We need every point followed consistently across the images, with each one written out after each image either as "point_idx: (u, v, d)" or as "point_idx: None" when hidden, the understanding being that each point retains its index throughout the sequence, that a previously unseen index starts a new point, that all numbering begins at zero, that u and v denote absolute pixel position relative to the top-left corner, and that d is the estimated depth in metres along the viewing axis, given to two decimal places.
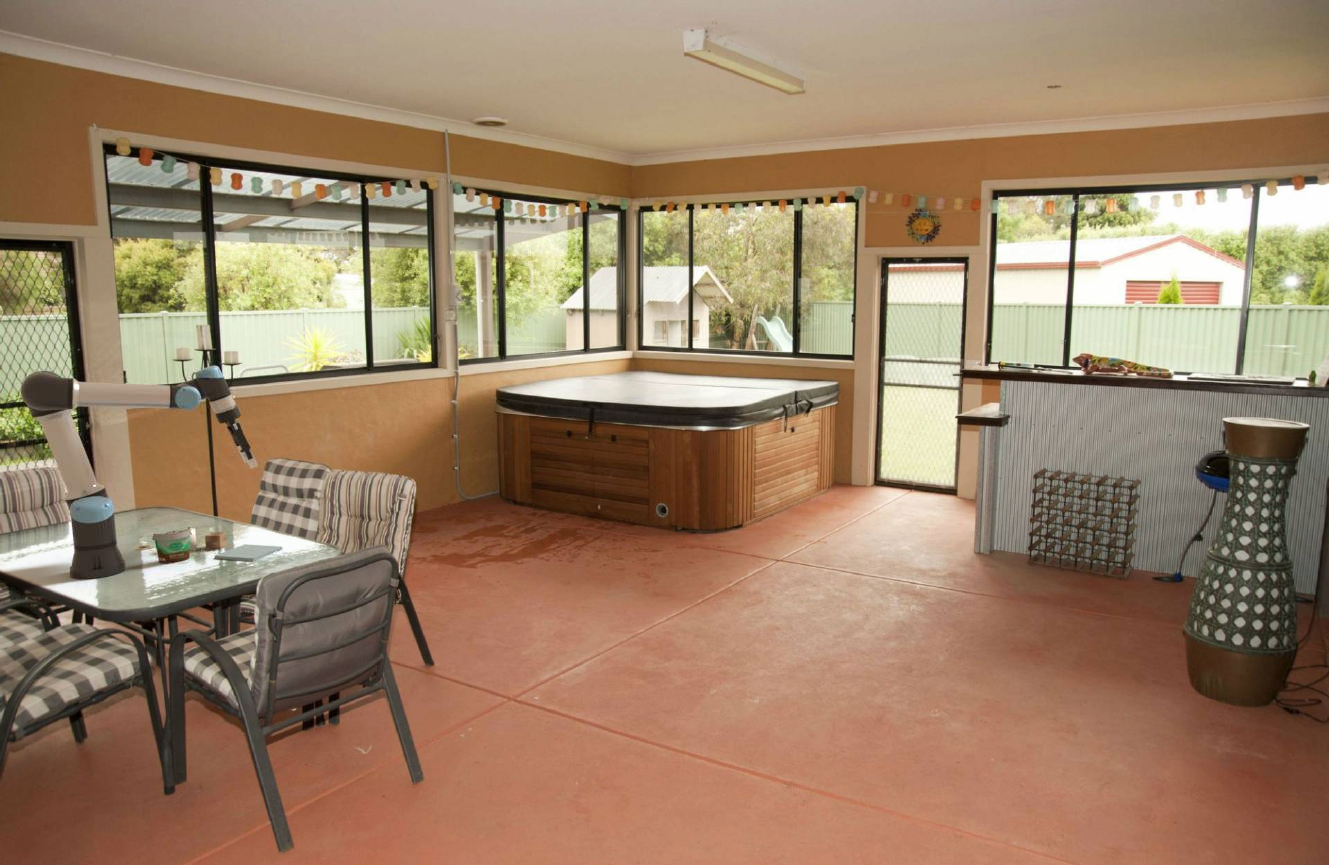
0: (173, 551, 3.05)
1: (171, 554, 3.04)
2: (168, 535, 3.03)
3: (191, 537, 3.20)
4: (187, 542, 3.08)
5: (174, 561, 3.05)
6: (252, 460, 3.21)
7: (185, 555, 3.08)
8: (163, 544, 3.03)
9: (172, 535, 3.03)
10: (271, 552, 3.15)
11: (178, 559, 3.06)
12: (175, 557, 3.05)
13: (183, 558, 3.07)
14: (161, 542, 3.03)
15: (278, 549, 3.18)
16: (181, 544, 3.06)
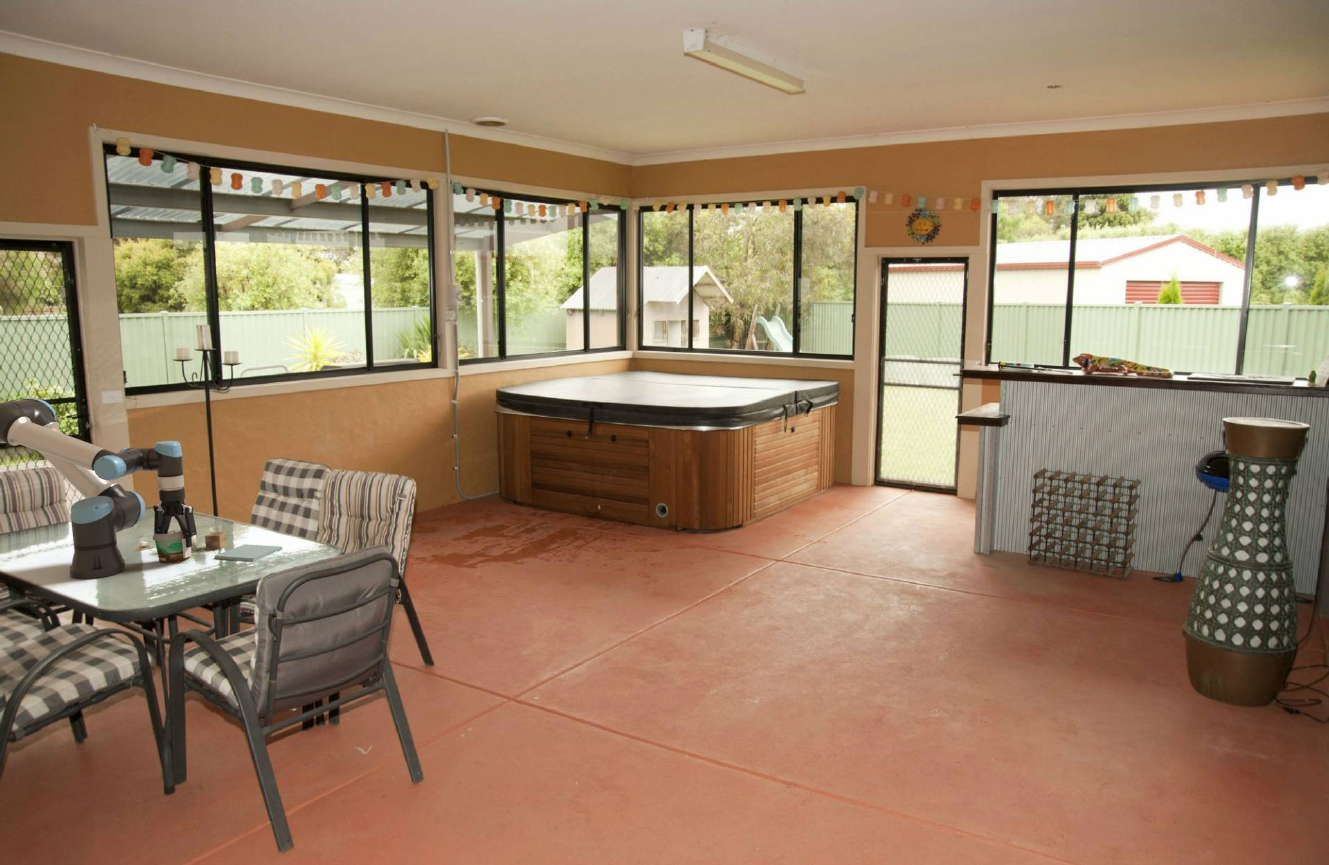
0: (173, 551, 3.05)
1: (171, 554, 3.04)
2: (168, 535, 3.03)
3: None
4: None
5: (174, 561, 3.05)
6: (188, 549, 3.06)
7: None
8: (163, 544, 3.03)
9: (172, 535, 3.03)
10: (271, 552, 3.15)
11: (178, 559, 3.06)
12: (176, 557, 3.05)
13: (183, 558, 3.07)
14: (161, 542, 3.03)
15: (278, 549, 3.18)
16: (181, 544, 3.06)
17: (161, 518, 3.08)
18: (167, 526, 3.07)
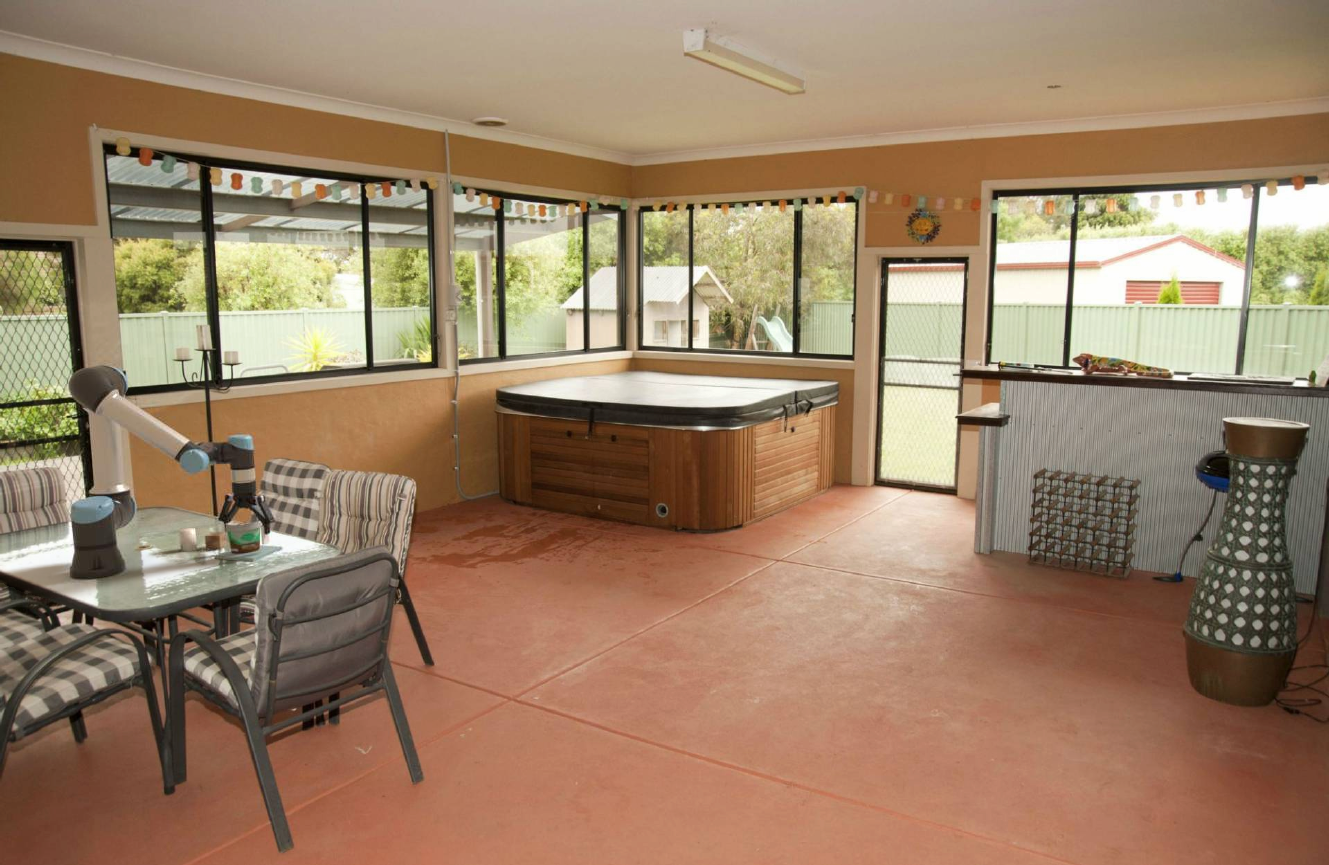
0: (245, 542, 3.12)
1: (243, 545, 3.11)
2: (241, 526, 3.10)
3: (191, 537, 3.20)
4: (258, 533, 3.15)
5: (246, 551, 3.12)
6: (266, 535, 3.13)
7: (256, 546, 3.15)
8: (236, 535, 3.10)
9: (245, 526, 3.10)
10: (271, 552, 3.15)
11: (250, 550, 3.13)
12: (247, 548, 3.12)
13: (254, 549, 3.14)
14: (234, 533, 3.10)
15: (278, 549, 3.18)
16: (253, 535, 3.13)
17: (229, 507, 3.15)
18: (233, 515, 3.15)
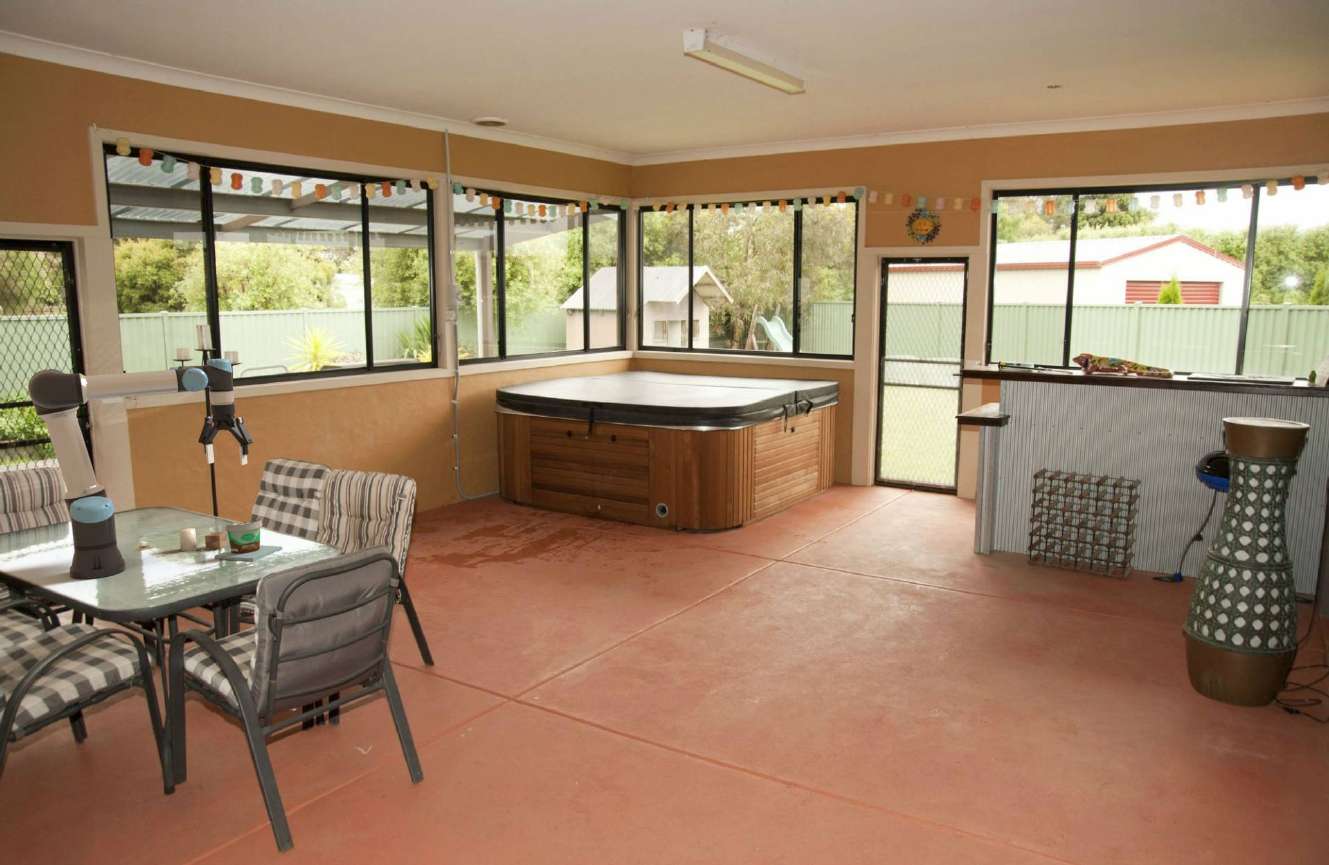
0: (245, 542, 3.12)
1: (243, 545, 3.11)
2: (241, 526, 3.10)
3: (191, 537, 3.20)
4: (258, 533, 3.15)
5: (246, 551, 3.12)
6: (244, 456, 3.23)
7: (256, 546, 3.15)
8: (236, 535, 3.10)
9: (245, 526, 3.10)
10: (271, 552, 3.15)
11: (250, 550, 3.13)
12: (247, 548, 3.12)
13: (254, 549, 3.14)
14: (234, 533, 3.10)
15: (278, 549, 3.18)
16: (253, 535, 3.13)
17: (208, 429, 3.26)
18: (212, 437, 3.25)
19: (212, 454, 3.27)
